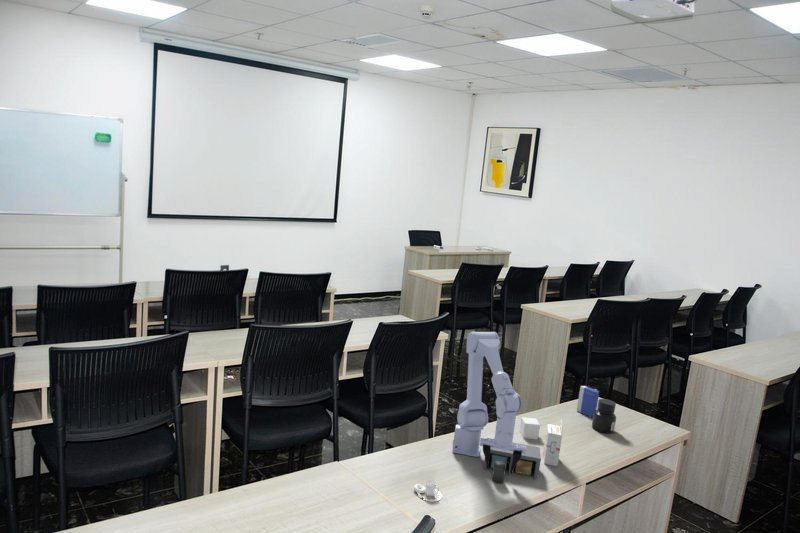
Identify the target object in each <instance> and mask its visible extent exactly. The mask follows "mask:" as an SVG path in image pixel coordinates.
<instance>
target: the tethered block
mask: <svg viewBox="0 0 800 533" xmlns="http://www.w3.org/2000/svg"><path fill="white" fill-rule="evenodd" d="M507 464H508V463H507V456H504V455H499V454H493V453H492V459H491V460H490V468H492V469H493V472H492V478H491V481H492V482H493V483H495V484H498V485H499V484H500V485H501V484H503V483H504V478H505V472H506V469H507Z"/></svg>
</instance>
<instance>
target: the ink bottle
mask: <svg viewBox="0 0 800 533" xmlns="http://www.w3.org/2000/svg"><path fill="white" fill-rule="evenodd" d="M616 405H617V402H615V401H614V400H610V399H607V398H598V403H597V409H596V411H595V412H594V415H593V417H592V422H591V427H592V429H594V430H595V431H597V432H599V431H600V432H599V433H603V432H604V434H613V433H614V432H615V428H616V422H617V415H616V414H615V411H616Z"/></svg>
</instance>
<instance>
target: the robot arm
mask: <svg viewBox="0 0 800 533" xmlns="http://www.w3.org/2000/svg"><path fill="white" fill-rule="evenodd" d="M500 345H501V342H500V337H499V334H498V333H497V332H496V331H474V330H473V331H471V332H469V334H468V335H467V338H466V352H465V353H467V354H468V363H467V364H468V365H467V389H466V390H467V391H466V400H464V401H463V402H461V403H460V404H459V407H458V412H457V416H456V418H457V424H455V428H454V435H453V439H452V453H453V454H457V455H459V454H460V455H465V456H468V457H469V456H470V457H475V458H479V457H480V451H481V447H482V453H483V455H484V460H485V459H486V469H485V470H489V467H490V460H489V457H490V449H491V447H494V448H499V449H500V450H504V451H505V450H510V451H513V458H512V463H511V468H510V473H511V474H510V475H513V473H514V470H515V466H516V464H517V462H518V461H519V460H520V458H521V456H522V454H525V451H526V446H523V445H520V444H521V443H518V444H517V443H516V442H513V440H514V439H513V438H514V432H515V426H516V418H517V412H519V411H521V408H522V398H521V395H520V394H519V393H517V391H516V390H514V387H513V385H512V382H511V379H510V377H509V374H508V373H507V372H505V371H504V369H503V365H502V360H501V356H500V353H499V348H500ZM484 357H485V359H486V362H487V364H488V366H489V369H490V371H491V374H492V377H491V378H490V379H491V383H492V386H493V390H494V391H495V392H494V393H495V395H496V399H495V407H496V411H495V412H496V413H495V414H496V416H497V418H496V425H495V431H494V432H495V433H494V438H491V439H487V438H485V437H481V436H482V430H484V427H487V424H488V423H489V415H488V414H489V413H488V406H487V405H486V404H485V403H483V402H482V397H483V396H482V393H483V392H482V391H483V374H484V373H483V371H484V370H483V368H484Z"/></svg>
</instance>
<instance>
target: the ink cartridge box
mask: <svg viewBox="0 0 800 533" xmlns="http://www.w3.org/2000/svg"><path fill="white" fill-rule="evenodd" d="M563 427H564V426H563V421H562V418H560V425H556V424H550V423H547V427H546V434H545V439H544V440H545V442H544V444H543V446H544V447H543V453H542V454H543V455H542V456H543V464H544V465H549V466H553V467H558V465H559V460H560V453H561V447H562V446H561V445H562V438H563Z"/></svg>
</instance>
